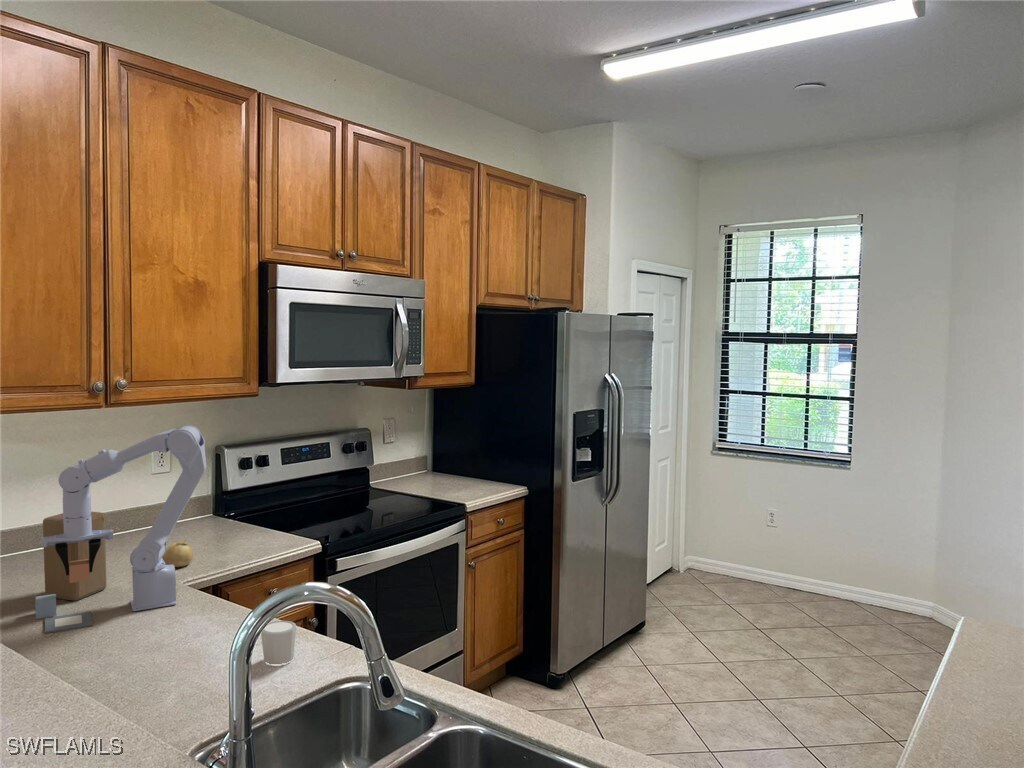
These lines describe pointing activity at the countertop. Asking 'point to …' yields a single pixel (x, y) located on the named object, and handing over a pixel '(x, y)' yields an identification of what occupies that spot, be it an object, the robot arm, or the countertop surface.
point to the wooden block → (54, 566)
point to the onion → (178, 554)
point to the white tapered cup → (278, 642)
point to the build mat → (68, 622)
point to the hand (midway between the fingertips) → (79, 572)
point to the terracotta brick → (79, 570)
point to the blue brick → (45, 606)
